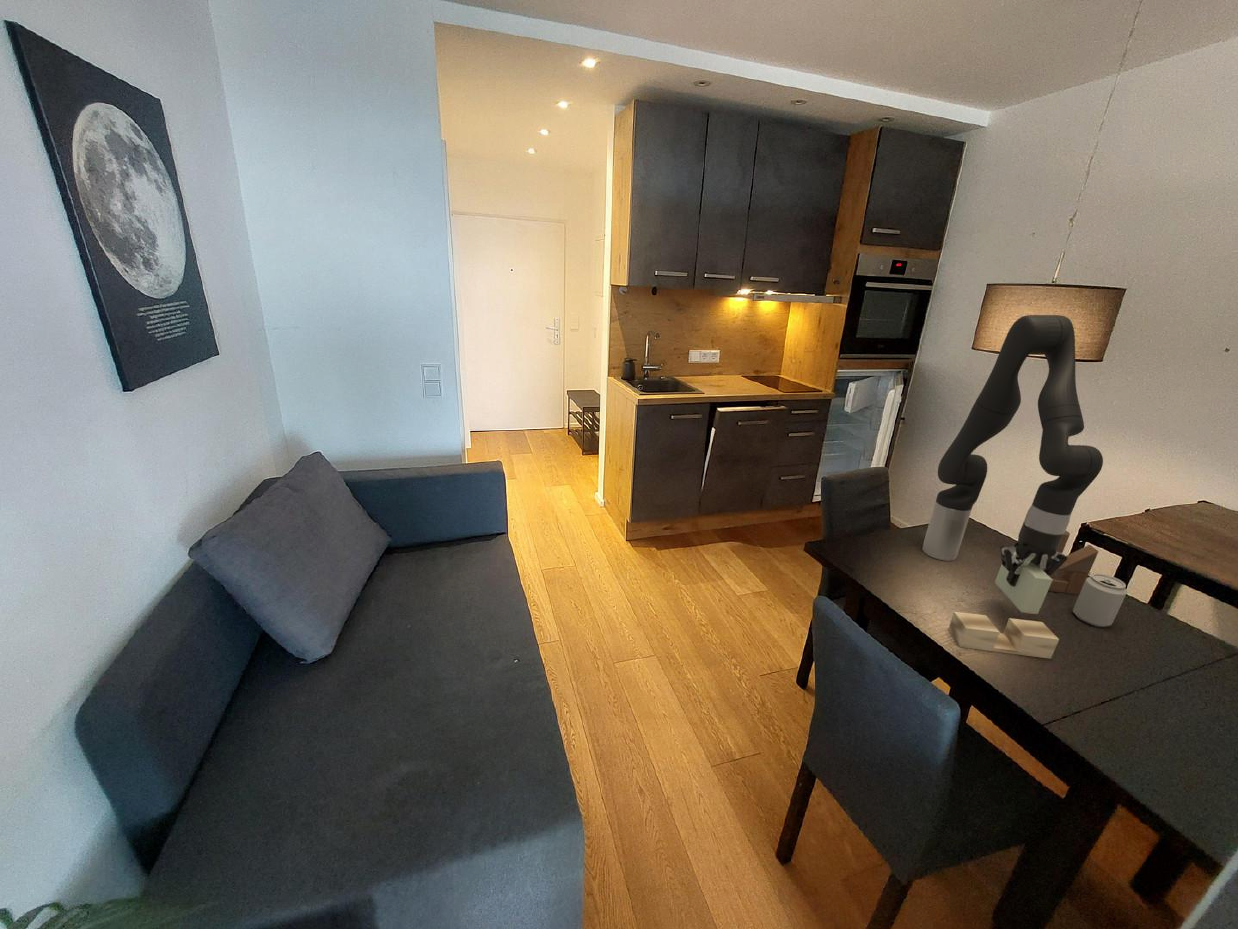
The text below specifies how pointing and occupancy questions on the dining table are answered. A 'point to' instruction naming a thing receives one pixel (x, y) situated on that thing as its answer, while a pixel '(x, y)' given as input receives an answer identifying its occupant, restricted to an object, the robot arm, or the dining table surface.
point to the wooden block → (1073, 569)
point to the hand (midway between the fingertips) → (1020, 585)
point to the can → (1100, 600)
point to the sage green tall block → (1025, 587)
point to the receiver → (1003, 635)
